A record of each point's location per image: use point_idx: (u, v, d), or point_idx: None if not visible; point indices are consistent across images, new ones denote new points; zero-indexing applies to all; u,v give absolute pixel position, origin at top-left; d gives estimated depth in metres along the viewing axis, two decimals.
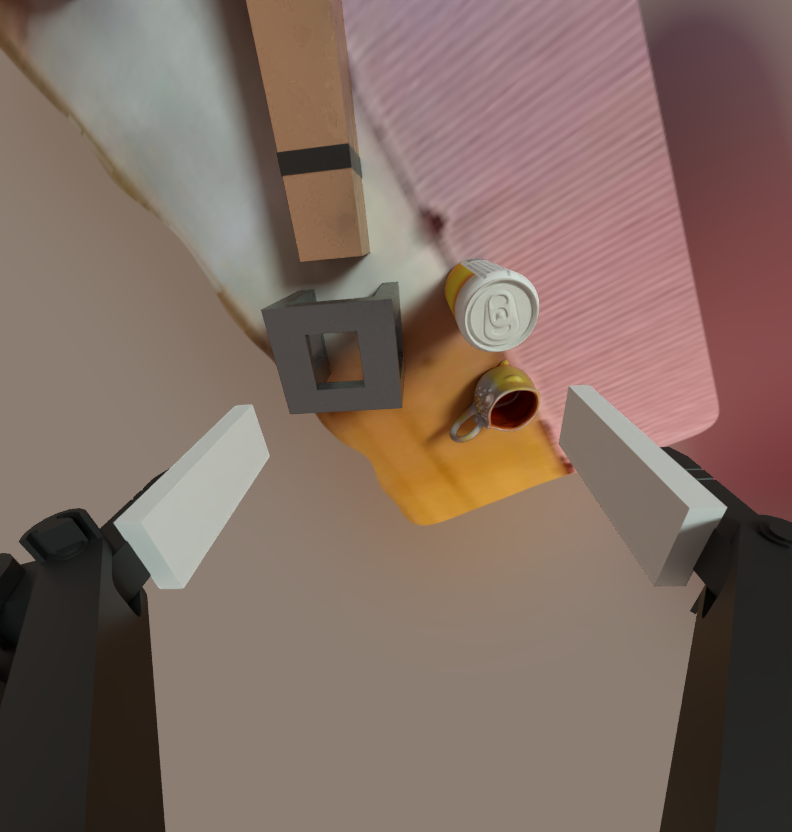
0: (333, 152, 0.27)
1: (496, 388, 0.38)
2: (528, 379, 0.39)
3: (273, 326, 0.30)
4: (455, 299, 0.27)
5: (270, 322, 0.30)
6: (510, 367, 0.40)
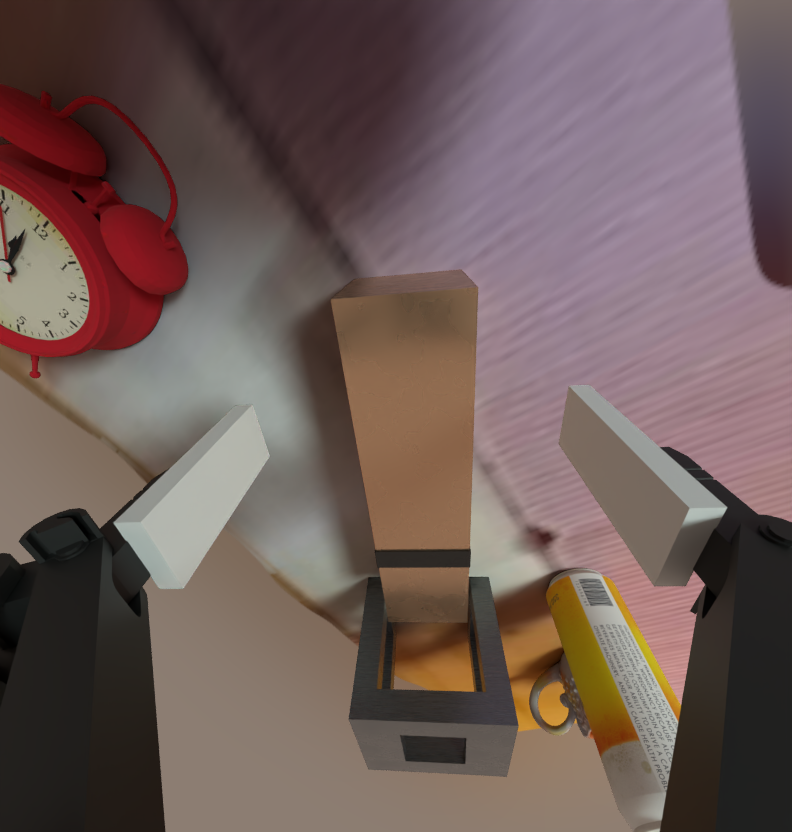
0: (448, 554, 0.21)
1: None
2: None
3: (361, 728, 0.24)
4: (603, 740, 0.21)
5: (358, 726, 0.24)
6: None
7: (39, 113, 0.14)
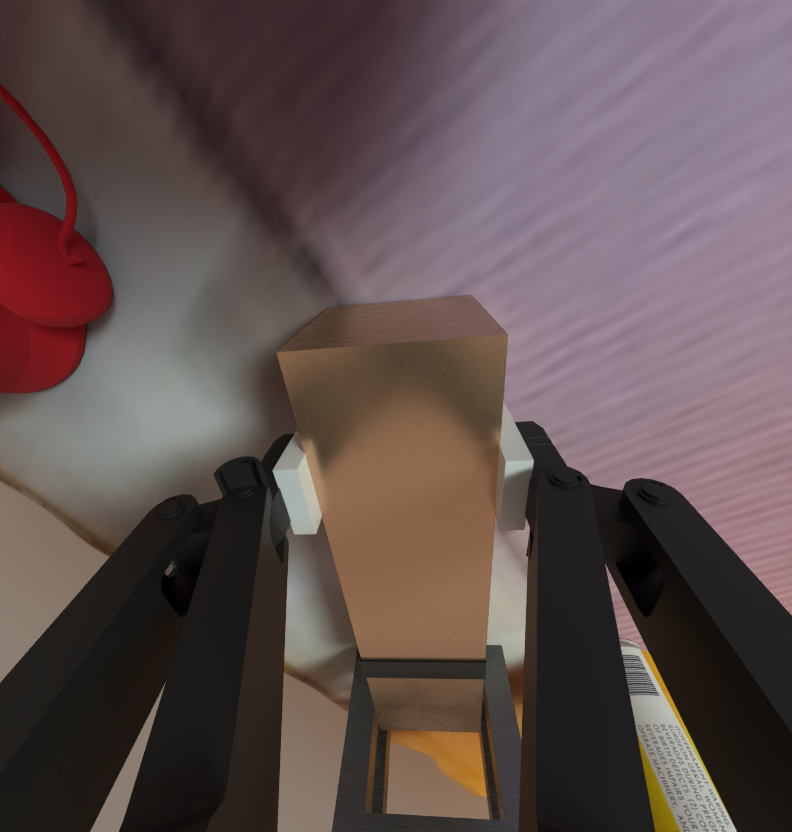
0: (456, 665, 0.16)
1: None
2: None
3: None
4: None
5: None
6: None
7: None
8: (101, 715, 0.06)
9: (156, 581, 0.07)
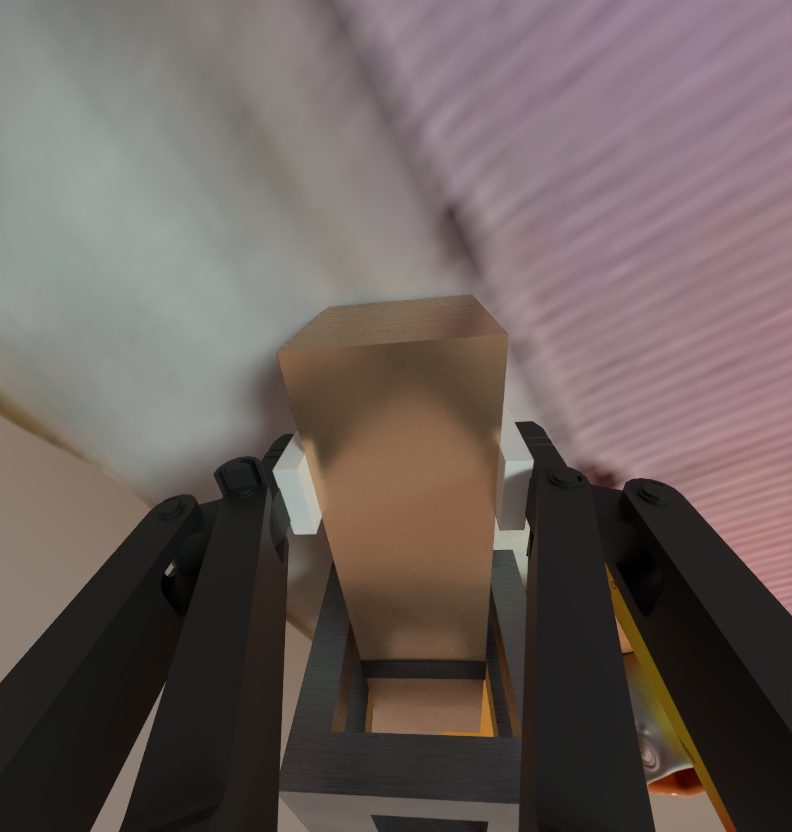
0: (456, 665, 0.16)
1: (661, 738, 0.22)
2: None
3: (301, 803, 0.13)
4: None
5: (294, 800, 0.13)
6: None
7: None
8: (101, 715, 0.06)
9: (156, 581, 0.07)
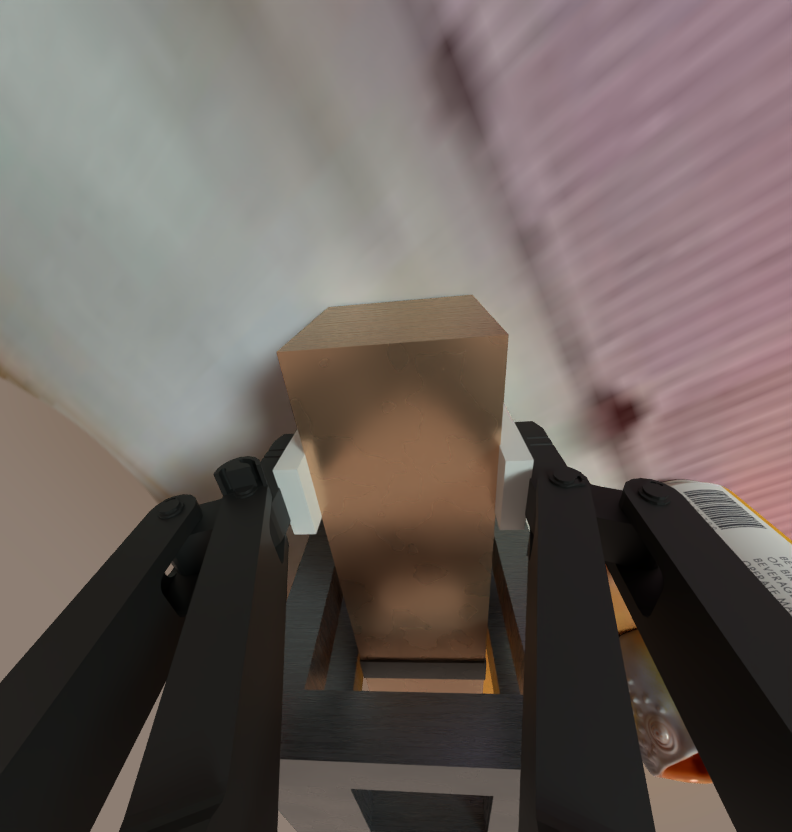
0: (456, 665, 0.16)
1: (679, 717, 0.20)
2: None
3: None
4: None
5: None
6: None
7: None
8: (101, 715, 0.06)
9: (155, 582, 0.07)
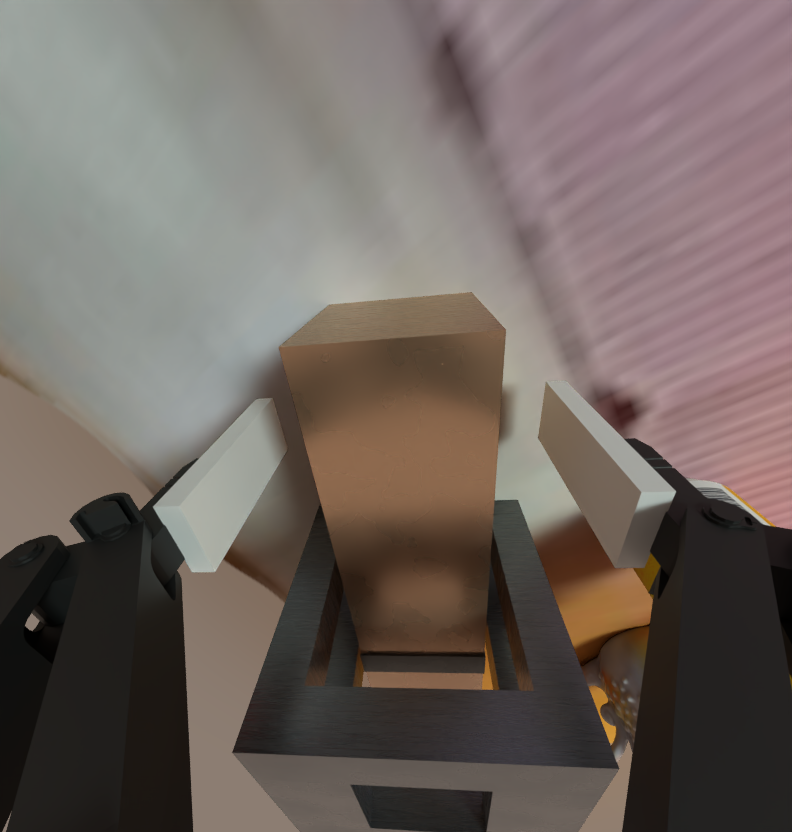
0: (455, 659, 0.16)
1: None
2: None
3: (267, 770, 0.11)
4: None
5: (257, 766, 0.11)
6: None
7: None
8: None
9: (15, 631, 0.07)
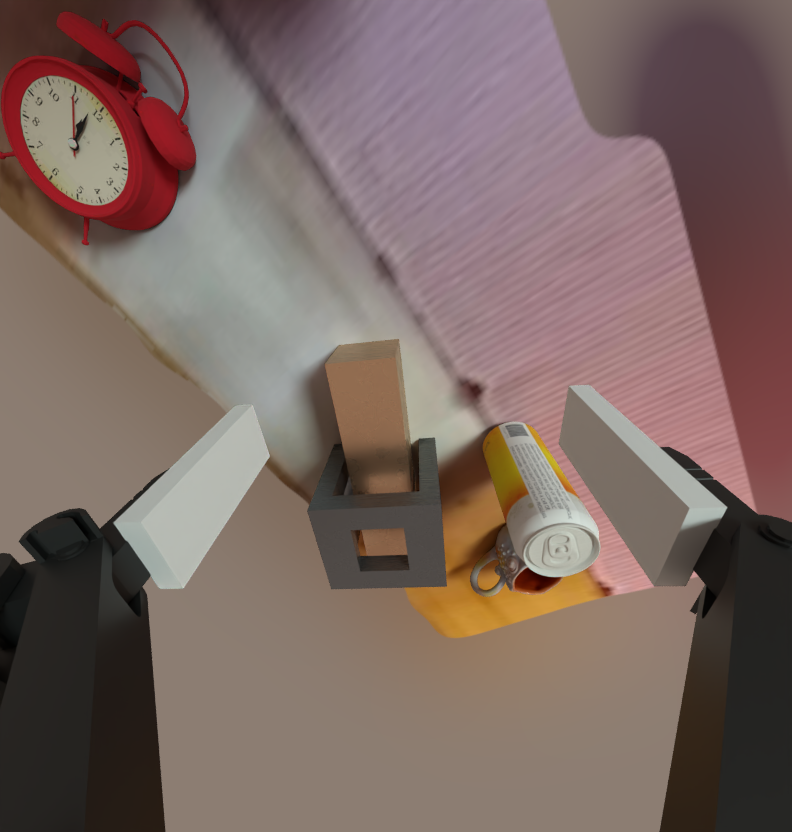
0: None
1: None
2: None
3: (319, 523, 0.29)
4: (507, 508, 0.27)
5: (315, 520, 0.29)
6: None
7: (101, 31, 0.22)
8: None
9: None
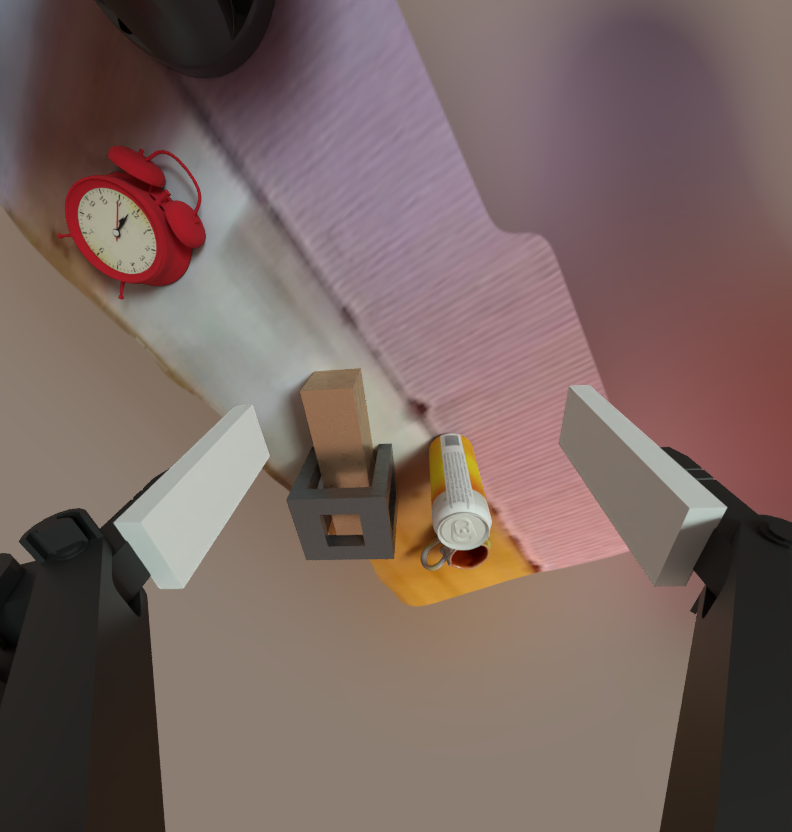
0: None
1: None
2: None
3: (295, 509, 0.39)
4: (432, 501, 0.37)
5: (292, 507, 0.39)
6: None
7: (139, 159, 0.30)
8: None
9: None
